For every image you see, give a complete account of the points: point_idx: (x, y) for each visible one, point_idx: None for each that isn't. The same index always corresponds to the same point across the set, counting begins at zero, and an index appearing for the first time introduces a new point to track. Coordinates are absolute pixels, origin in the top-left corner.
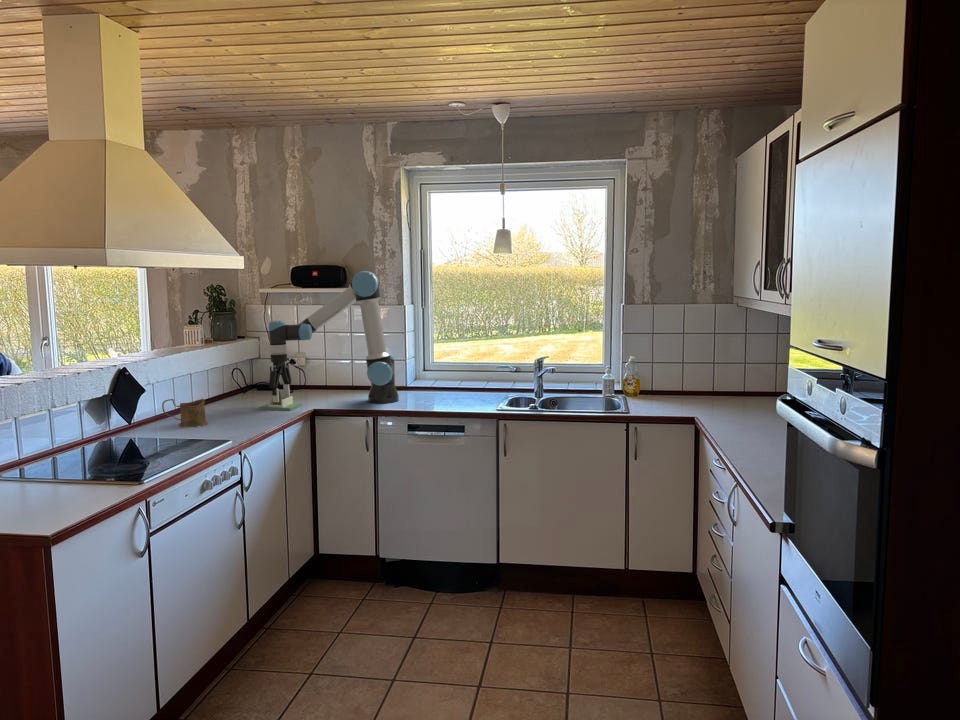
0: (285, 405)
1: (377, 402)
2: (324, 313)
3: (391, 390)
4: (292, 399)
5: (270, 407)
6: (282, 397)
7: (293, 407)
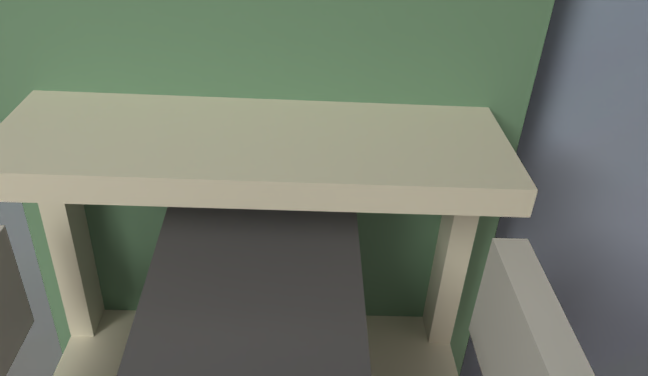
0: (364, 111)
1: None
2: None
3: None
4: (7, 130)
5: None
6: (283, 293)
7: None
